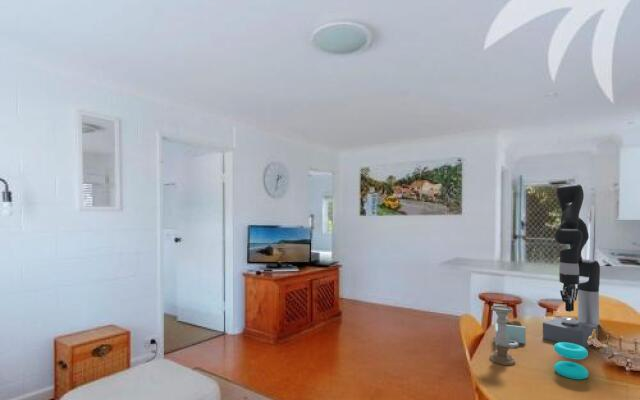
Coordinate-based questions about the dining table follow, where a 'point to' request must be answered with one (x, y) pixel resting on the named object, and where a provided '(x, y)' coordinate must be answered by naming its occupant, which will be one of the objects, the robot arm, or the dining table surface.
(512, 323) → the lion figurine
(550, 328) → the socket block
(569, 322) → the steel pin
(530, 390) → the dining table surface
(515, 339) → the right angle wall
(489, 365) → the dining table surface
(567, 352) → the donuts
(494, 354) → the candle holder
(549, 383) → the dining table surface
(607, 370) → the dining table surface
